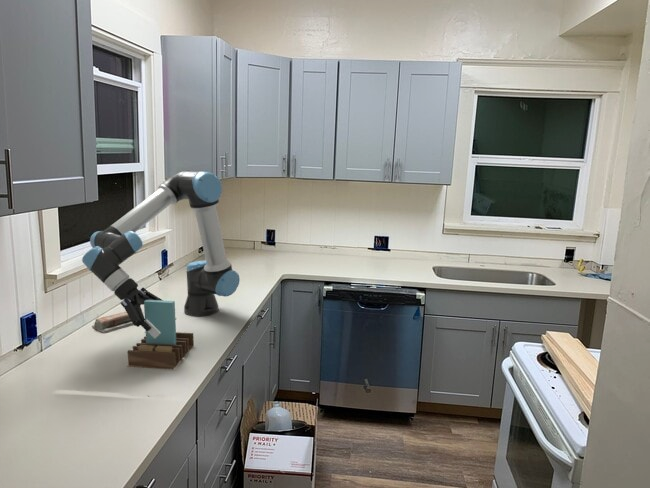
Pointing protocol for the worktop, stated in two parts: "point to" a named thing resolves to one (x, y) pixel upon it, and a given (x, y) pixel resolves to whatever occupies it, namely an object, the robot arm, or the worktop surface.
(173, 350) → the rack
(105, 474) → the worktop surface
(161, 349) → the offcut
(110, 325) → the packaged product
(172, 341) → the tall board
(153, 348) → the offcut
